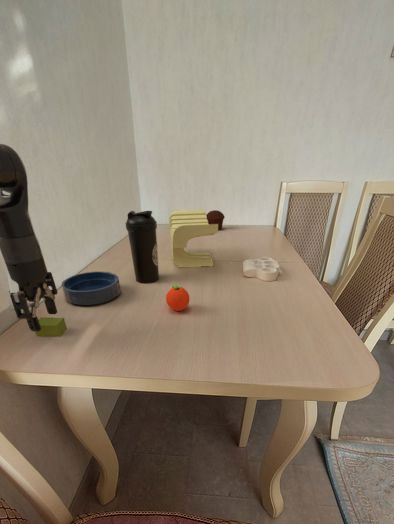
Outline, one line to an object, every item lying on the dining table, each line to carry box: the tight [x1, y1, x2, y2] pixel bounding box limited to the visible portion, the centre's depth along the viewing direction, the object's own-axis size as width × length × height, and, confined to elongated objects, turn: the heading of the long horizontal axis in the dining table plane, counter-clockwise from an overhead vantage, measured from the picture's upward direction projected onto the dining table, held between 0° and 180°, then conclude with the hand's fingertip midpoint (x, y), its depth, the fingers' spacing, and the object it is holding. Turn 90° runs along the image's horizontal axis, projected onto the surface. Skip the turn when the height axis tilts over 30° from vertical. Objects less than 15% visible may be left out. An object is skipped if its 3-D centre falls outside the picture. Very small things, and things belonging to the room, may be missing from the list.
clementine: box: [165, 285, 191, 312], centre depth 87 cm, size 8×7×7 cm
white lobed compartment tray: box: [242, 256, 284, 282], centre depth 112 cm, size 3×18×15 cm
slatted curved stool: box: [168, 209, 219, 268], centre depth 120 cm, size 30×16×18 cm, turn 7°
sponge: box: [34, 316, 68, 338], centre depth 74 cm, size 6×4×5 cm, turn 87°
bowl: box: [60, 271, 122, 306], centre depth 96 cm, size 18×18×5 cm
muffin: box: [206, 210, 225, 232], centre depth 173 cm, size 12×11×10 cm
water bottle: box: [125, 210, 160, 284], centre depth 103 cm, size 10×10×23 cm
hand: (45, 321), depth 73 cm, fingers open, 8 cm apart
